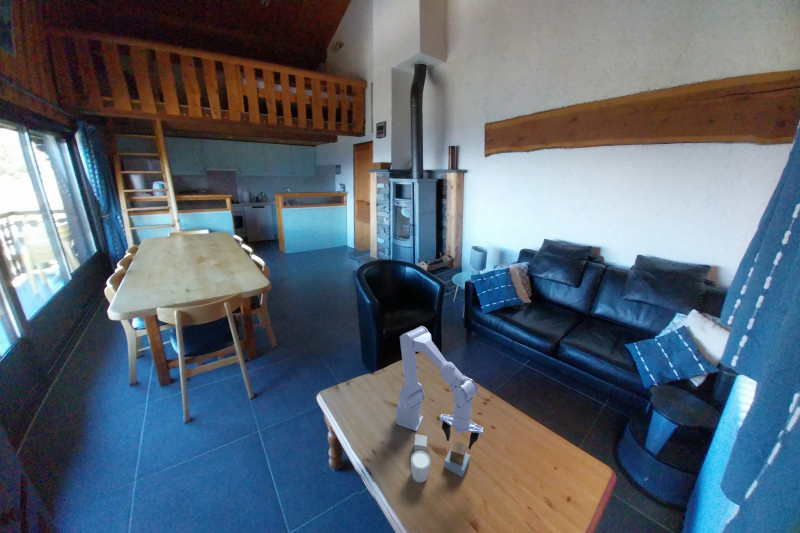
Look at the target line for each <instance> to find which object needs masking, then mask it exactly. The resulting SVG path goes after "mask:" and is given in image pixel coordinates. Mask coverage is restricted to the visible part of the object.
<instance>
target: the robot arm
mask: <svg viewBox="0 0 800 533" xmlns="http://www.w3.org/2000/svg"><path fill="white" fill-rule="evenodd" d="M399 341H400V350H401V359H402V360H401V361H402V371H403V381H404V384H403V385H402V387H401V388H400V390H399V396H398V403H397V406H396V421H395V424H396V425H397V426H398V425H399V426H401V427H404V428H405V429H409V430H412V431H415V432H417V431H418V430H419V427H420V425H421V423H422V421H423V419H424V416H423V415H421V404H422V403H423V401H424V400H425V398H426V394H425V391H424V386H423V385H422V384H421V383H420V382H419V378H418V368H417V367H418V366H417V358H416V355H417V354H416V352H417V353H418V352H419V353H424V354H425V355H427V357H428V358H429V359H430V360H431V361H432V362H433V363H434V364H435V366H436V367H437V368H438V370H439V371H438V373H439V375H440V376H441V378H442V379H443V380H444V381H445V383H447V385H448V386H449V387H450V389H451V393H452V396H453V403H454V405H453V406H454V407H453V414H444V413H441V414H440V416H439V423H442V424H441V430H442V431H443V432H444V436H445V438H446V441H447V442H449V441H450V438H451V427H452V428H453V429H455V432H456V433H457V434H460V435H461V434H462V433H470V437H469V444H468V450H472V446H473V445H474V444H475V443H476V442H477V441H478V439H479V436H480V437H482V436H483V432H484V427H483V426H480V425H478V424H477V423H475V422H474V421H472V409H473V401H474V397H475V395H476V394H477V393H478V386H477V384H476V383H475V381H474V380H473V379H472V378H469V377H468V376H467V375H463V373H462V372H461V371H460V370H459V369H458V368H457V367H456V365H455V364H454V363H453V362H451V361H447V359H446V358H445V357H444V355H443V354H442V353H441V352H440V350H439V348H438V347H437V345H435V343H434V342H433V340H432V334H431V333H430V332H429V330H428V328H427V327H425V326H423V325H420V326H418V327H416V328H415V329H413V330H409V331H407V332H405V333H403V334H401V335H400V336H399Z"/></svg>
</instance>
